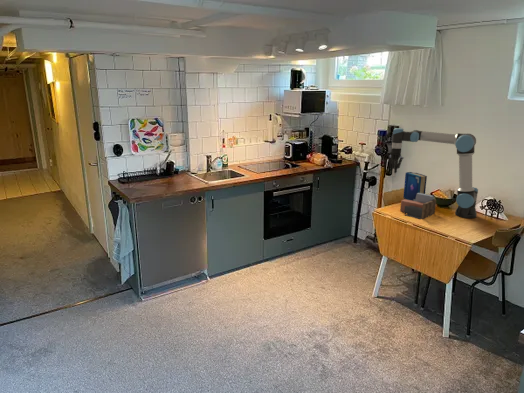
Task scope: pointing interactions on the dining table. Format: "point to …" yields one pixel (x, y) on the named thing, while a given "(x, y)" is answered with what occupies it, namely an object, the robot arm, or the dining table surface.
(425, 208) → the shelf wall
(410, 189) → the book
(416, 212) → the bookend
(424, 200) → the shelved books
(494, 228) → the dining table surface
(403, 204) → the book box
